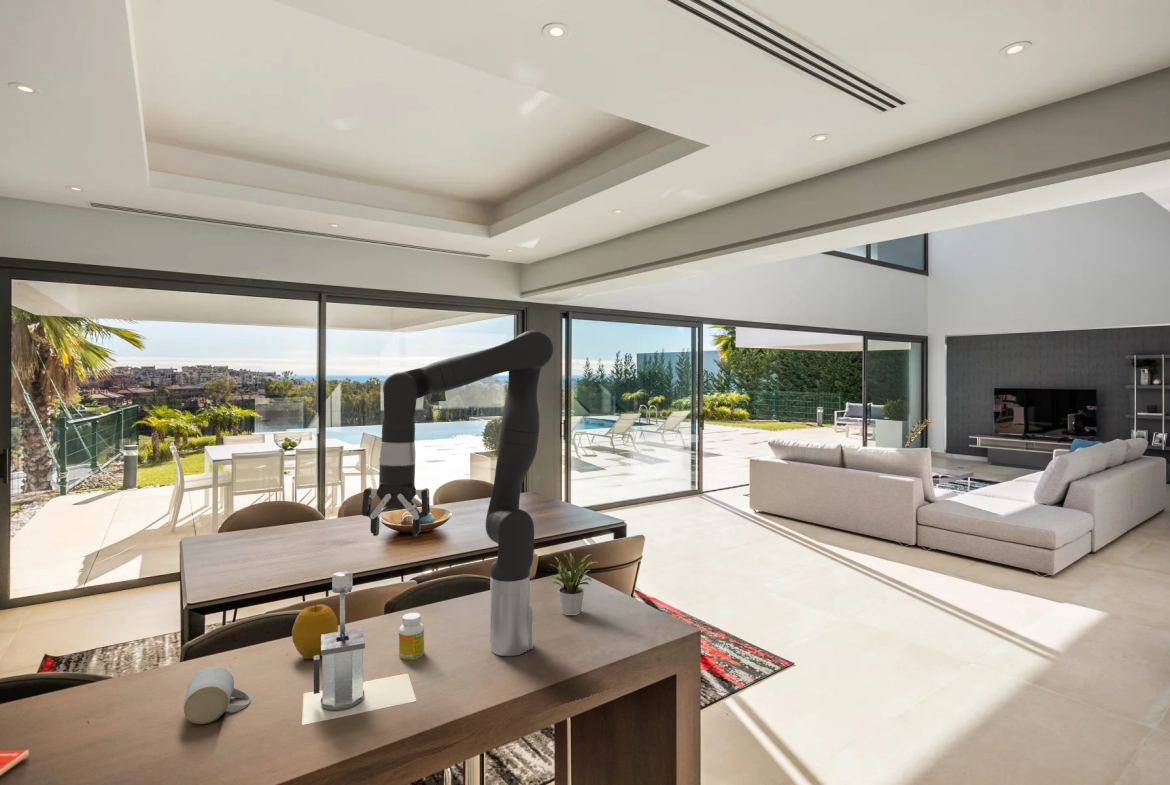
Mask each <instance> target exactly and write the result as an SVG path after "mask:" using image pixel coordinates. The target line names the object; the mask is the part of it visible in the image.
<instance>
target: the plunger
mask: <svg viewBox="0 0 1170 785" xmlns="http://www.w3.org/2000/svg"><path fill="white" fill-rule="evenodd" d="M331 578H332V579H331V582H332V583H331V584H332V586H331V588H332V593H334V594H339V632H340V641H345V631H346V593H349V592H350V591H352V590H353V572H352V571H346V570H345V571H338V572H335V573H333V574H332V575H331Z"/></svg>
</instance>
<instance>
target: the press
mask: <svg viewBox="0 0 1170 785" xmlns="http://www.w3.org/2000/svg"><path fill="white" fill-rule="evenodd" d="M364 635H365V634H364V630H363V628H362V627H361V628H355V629H348V630H345V641H340V631H338V632H334V633H328V634H321V656H320V657H321V664H322V665H321V669H322V670H321V672H322V675H321V676H322V678H321V679H322V680H321V683H322V686H321V688H322V689H321V688H320V685H321V684H320V657H319V655H316V656H314V658H313V691H314V694H317V693H320V690H322V698H321V707H322V708H323V709H324V710H327V711H344V710H348V709H351V708H353V707H355V706H357V705H359V704H360V703H361V702H362V701H363V700H364V690H363V682H364V649H366V641H365V636H364Z"/></svg>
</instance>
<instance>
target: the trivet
mask: <svg viewBox="0 0 1170 785" xmlns="http://www.w3.org/2000/svg"><path fill="white" fill-rule="evenodd" d="M363 690H364V700H363V701H362V702H361V703H360V704H359V705H357V706H355V707H353V708H351V709H348V710H344V711H327V710H324V709H323V708H322V707H321V698H322V689H320V693H317V694H314V690H313V691H309V692H304V693H303V694H302V719H301V725H302V726H305V725H309V724H311V725H312V724H315V723H319V722H325V721H330V720H333V719H339V718H343V717H348V716H352V715H353V716H354V715H358V714H361V713H366V712H367V713H368V712H372V711H376V710H381V709H386V708H391V707H395V706H401V705H405V704H410V703H414V702H417V698H416V693H415V691H414V688H413V685H412V682H411V679H410V676H409V673H408V672H407V673H403V674H398V675H391V676H388V677H381V678H377V679H371V680H366V681H363Z"/></svg>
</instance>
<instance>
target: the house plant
mask: <svg viewBox="0 0 1170 785" xmlns="http://www.w3.org/2000/svg"><path fill="white" fill-rule="evenodd" d="M562 553H563V555H564V557H566V559H567V561H568V565H569V572H570V573H569V572H568V570H567V567H566V566H565V564H564V563H563V562H562V561H561V560H560V559H559V558H558V557H556V556H554V558H555V560H556V561H557V563H558V567H556V566H555V565H554V564H552V563H550V565H551V566H553V567H555V568H556V569H557V570H558V573H556V575H557V576H556V575H551V577H552V578H554V579H556V580H558V581H559V582H558V581H552V582H551V584H555V585H556V584H557V585H559V586H561V587H559V588H558V597H559V603H560V610H561V614H562V613H564V614H577V613H580V612H581V613H582V606H583V599H584V594H585V588H583V587H582V586H580V585H589V586H590V583H589V582H587V581H590V582H591V583H593V582H592V578H590V577H585V578H583V577H584V576H585V575H586V574H587V573H588V572H589V571H590V569H587V570H586V568H587V567H588V566H590V565H591V564H594V563H596V564H597V563H598V561H593V560H591V561H588V562H587V563H584V562H585V561H586V560H587V558H588V557H589V556H592V553H590V554H587V555H585V556H584V557H583V558H582V559H581V560H580V561H579V562H578V563H577V566H576V563H575V558H574V556H573V555H572V553H571V552H569V556H568V555H566V554H565V552H562ZM575 566H576V567H575ZM575 568H576V569H575ZM558 575H559V576H560V577H558ZM560 582H561V583H562V584H561V583H560ZM581 613H580V614H581Z"/></svg>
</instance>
